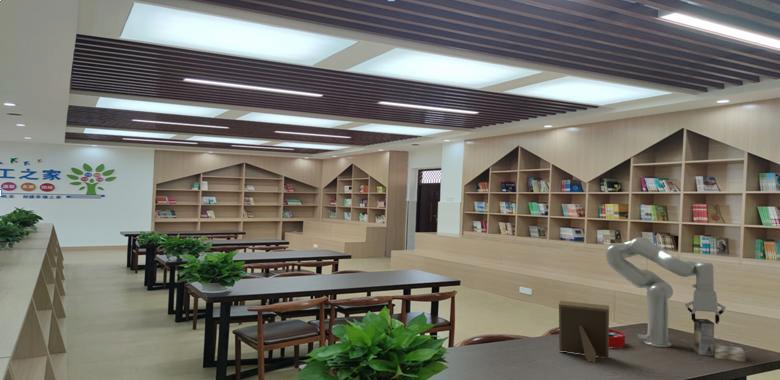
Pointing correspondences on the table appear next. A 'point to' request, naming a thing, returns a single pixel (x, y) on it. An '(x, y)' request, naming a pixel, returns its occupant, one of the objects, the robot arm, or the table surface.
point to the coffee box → (704, 337)
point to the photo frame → (584, 329)
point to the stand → (729, 353)
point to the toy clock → (616, 339)
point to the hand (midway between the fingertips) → (705, 322)
